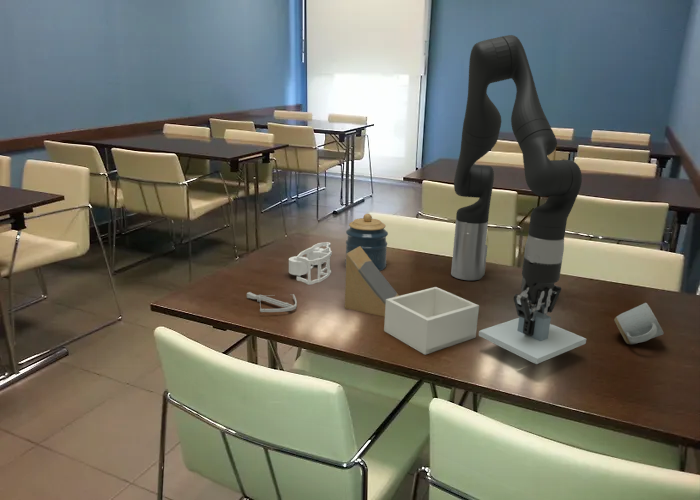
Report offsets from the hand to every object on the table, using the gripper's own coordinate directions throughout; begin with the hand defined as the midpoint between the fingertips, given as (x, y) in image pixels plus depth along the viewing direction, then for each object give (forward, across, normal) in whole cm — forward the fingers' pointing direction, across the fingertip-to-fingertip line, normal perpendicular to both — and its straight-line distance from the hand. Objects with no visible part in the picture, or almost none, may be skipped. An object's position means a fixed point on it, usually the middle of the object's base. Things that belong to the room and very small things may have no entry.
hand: (532, 332), depth 118 cm
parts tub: (+5, +12, -19) cm, 23 cm away
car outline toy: (+5, +12, -69) cm, 71 cm away
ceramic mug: (+5, -24, +11) cm, 27 cm away
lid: (+2, 0, 0) cm, 2 cm away
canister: (+5, -4, -65) cm, 65 cm away
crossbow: (+6, +35, -55) cm, 65 cm away
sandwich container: (+5, +13, -38) cm, 40 cm away
